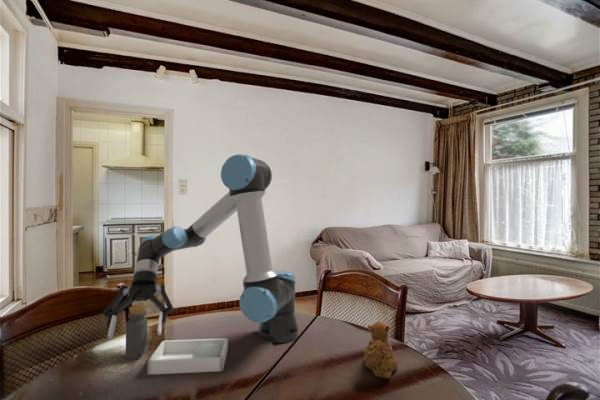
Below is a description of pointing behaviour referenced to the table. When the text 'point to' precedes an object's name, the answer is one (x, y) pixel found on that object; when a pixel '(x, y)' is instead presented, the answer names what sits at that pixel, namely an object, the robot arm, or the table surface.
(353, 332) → the table surface
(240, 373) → the table surface
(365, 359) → the brown fuzzy plush figure
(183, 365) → the tray
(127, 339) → the bottle
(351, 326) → the table surface
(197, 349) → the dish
